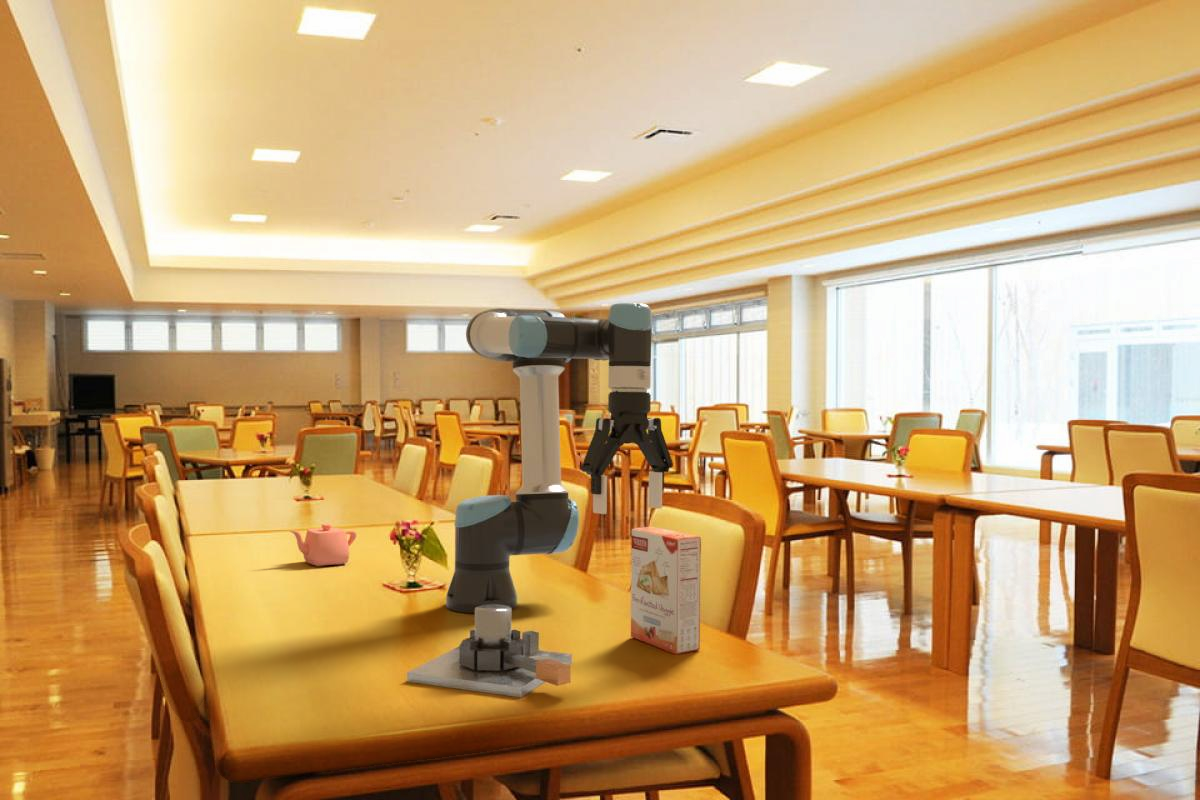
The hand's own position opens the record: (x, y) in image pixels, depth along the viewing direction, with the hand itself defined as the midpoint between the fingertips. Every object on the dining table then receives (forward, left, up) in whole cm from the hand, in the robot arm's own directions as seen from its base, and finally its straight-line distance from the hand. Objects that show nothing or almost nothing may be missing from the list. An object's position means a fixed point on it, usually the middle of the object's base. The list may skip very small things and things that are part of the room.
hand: (628, 510), depth 170 cm
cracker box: (+4, +9, -26) cm, 27 cm away
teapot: (-102, +50, -26) cm, 116 cm away
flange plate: (-17, -19, -25) cm, 36 cm away
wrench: (-11, -22, -24) cm, 34 cm away
